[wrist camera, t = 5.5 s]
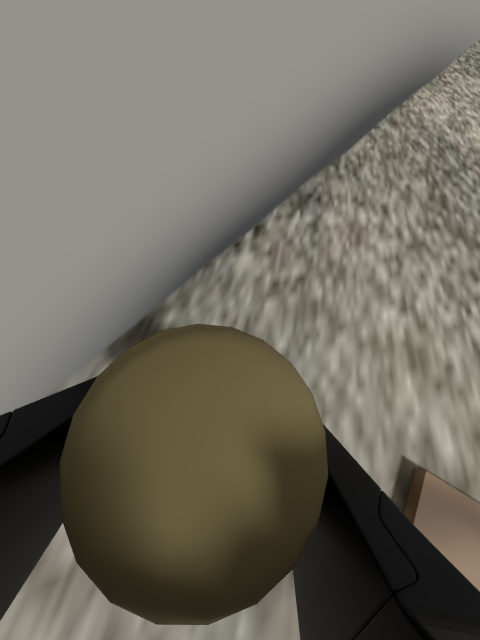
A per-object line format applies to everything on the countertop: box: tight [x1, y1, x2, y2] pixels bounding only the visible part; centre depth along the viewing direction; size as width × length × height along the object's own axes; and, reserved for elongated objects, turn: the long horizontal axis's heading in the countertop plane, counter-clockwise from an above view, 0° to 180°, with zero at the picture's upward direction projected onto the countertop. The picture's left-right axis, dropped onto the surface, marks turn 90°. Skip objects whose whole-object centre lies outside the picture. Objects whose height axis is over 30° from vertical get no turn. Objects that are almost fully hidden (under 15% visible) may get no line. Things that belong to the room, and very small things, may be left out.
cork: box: [60, 324, 328, 625], centre depth 9 cm, size 6×6×11 cm
